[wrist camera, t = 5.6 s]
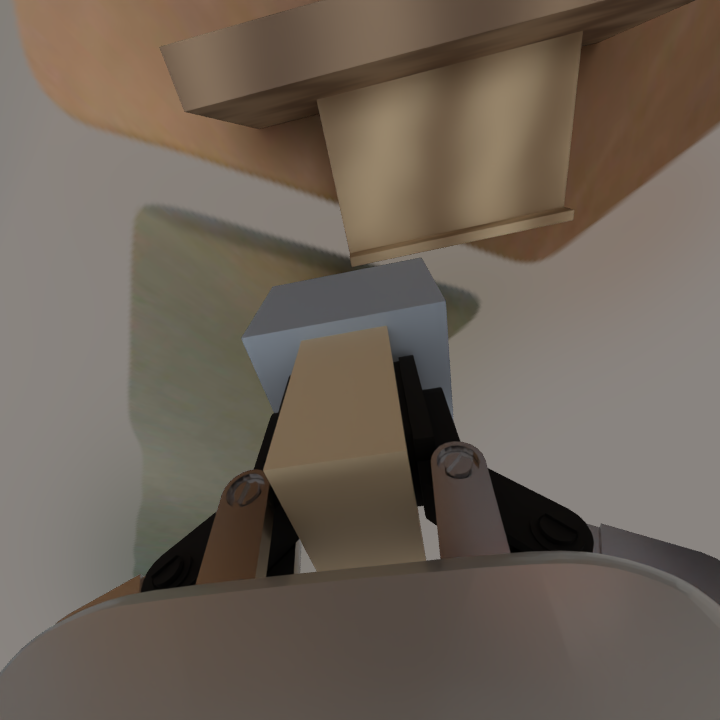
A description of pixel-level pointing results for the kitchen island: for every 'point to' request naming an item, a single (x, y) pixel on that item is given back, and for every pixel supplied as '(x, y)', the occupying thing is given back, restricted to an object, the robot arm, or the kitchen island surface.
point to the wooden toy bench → (417, 105)
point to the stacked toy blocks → (348, 406)
